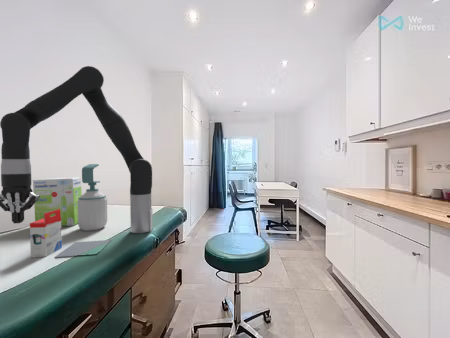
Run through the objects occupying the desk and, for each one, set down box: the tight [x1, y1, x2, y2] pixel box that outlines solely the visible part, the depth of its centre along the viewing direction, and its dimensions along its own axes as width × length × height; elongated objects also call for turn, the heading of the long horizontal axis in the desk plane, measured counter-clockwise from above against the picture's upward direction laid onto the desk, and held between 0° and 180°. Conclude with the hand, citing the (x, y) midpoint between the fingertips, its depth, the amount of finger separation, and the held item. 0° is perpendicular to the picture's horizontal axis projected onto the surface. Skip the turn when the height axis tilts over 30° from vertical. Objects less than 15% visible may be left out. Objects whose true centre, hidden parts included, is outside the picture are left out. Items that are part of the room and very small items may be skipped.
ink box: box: [29, 209, 63, 258], centre depth 77 cm, size 8×5×15 cm, turn 5°
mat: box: [54, 239, 112, 259], centre depth 81 cm, size 13×14×1 cm
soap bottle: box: [77, 163, 108, 232], centre depth 106 cm, size 12×12×31 cm
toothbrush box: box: [32, 176, 83, 227], centre depth 114 cm, size 18×10×24 cm, turn 102°
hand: (18, 222), depth 76 cm, fingers closed
